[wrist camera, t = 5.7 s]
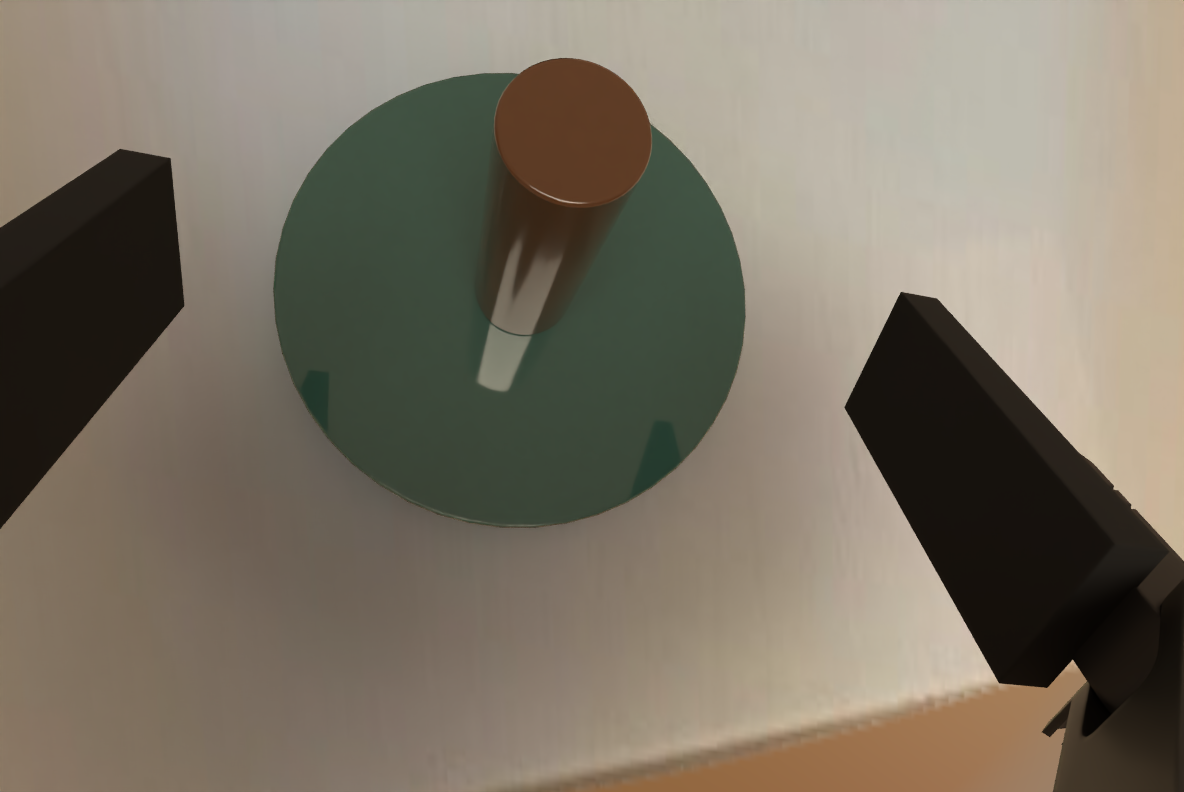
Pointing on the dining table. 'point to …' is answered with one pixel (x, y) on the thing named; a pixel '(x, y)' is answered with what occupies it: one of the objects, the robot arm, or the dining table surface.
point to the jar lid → (510, 297)
